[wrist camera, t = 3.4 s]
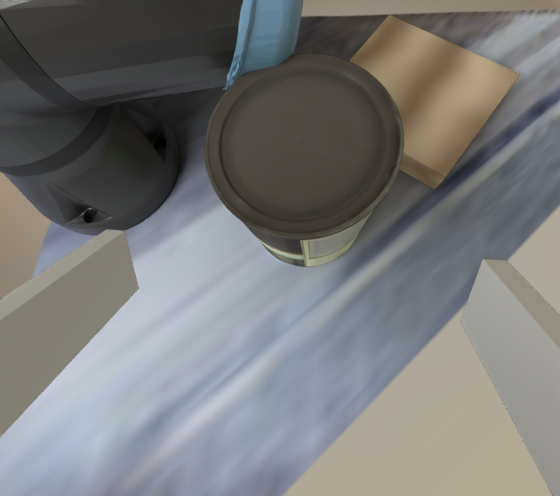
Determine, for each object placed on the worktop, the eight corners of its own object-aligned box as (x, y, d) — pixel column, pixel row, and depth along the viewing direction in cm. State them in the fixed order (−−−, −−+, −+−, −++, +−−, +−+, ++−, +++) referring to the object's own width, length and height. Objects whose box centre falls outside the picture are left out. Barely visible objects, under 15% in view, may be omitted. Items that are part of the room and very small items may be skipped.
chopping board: (313, 118, 33) (313, 101, 30) (383, 37, 35) (389, 14, 32) (434, 190, 29) (445, 176, 27) (504, 94, 31) (520, 73, 29)
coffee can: (251, 269, 29) (195, 237, 16) (256, 166, 31) (210, 56, 17) (363, 271, 28) (409, 238, 14) (361, 164, 30) (401, 44, 16)
